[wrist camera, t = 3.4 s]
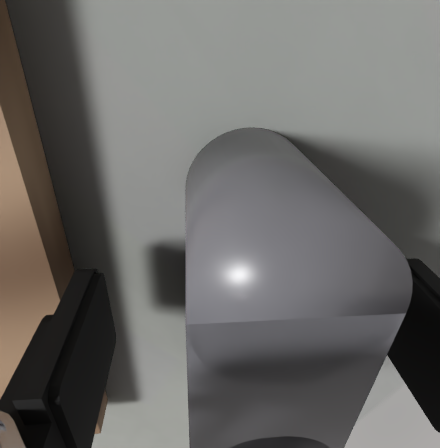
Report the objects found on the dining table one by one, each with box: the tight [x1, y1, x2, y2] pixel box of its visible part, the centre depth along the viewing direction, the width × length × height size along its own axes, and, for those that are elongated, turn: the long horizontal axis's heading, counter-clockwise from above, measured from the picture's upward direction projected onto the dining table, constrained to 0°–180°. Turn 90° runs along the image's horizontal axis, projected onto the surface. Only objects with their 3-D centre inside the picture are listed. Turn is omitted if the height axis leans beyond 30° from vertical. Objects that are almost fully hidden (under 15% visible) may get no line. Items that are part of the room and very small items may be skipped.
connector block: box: [186, 128, 413, 448], centre depth 10 cm, size 12×4×6 cm, turn 178°
